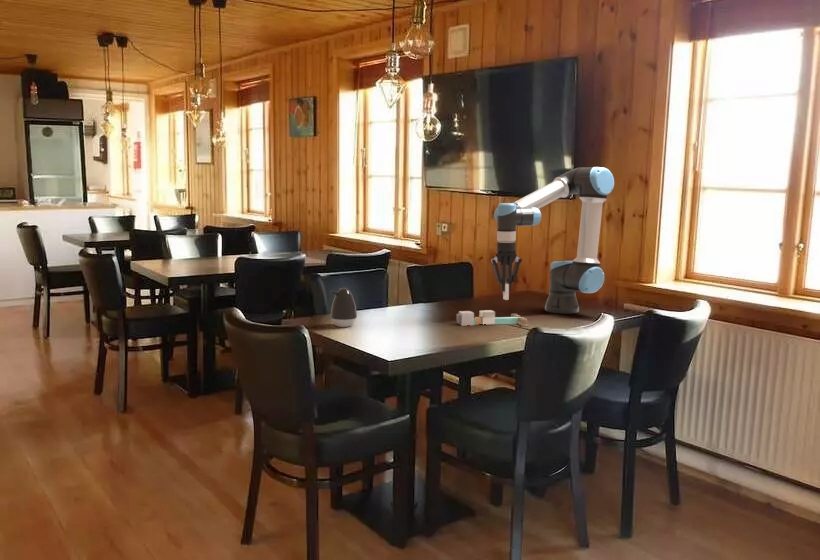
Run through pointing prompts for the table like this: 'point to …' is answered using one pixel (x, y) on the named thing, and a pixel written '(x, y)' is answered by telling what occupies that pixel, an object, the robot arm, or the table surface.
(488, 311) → the sleeve
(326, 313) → the table surface
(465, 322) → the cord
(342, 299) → the pump dispenser
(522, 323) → the comb
